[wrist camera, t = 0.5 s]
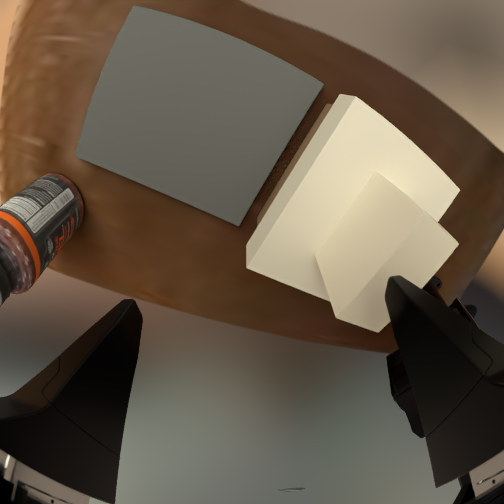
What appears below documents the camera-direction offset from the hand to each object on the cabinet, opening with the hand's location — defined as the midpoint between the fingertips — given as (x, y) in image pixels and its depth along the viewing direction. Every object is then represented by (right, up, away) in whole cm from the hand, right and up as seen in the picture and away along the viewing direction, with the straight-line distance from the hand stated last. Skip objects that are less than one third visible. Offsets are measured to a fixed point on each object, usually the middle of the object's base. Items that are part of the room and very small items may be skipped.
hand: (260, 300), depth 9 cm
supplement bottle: (-17, +6, +11) cm, 21 cm away
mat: (-5, +11, +8) cm, 14 cm away
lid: (+6, +4, +8) cm, 11 cm away
